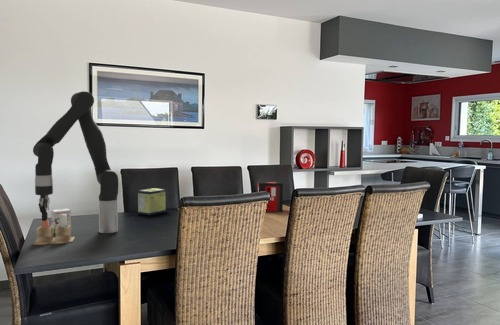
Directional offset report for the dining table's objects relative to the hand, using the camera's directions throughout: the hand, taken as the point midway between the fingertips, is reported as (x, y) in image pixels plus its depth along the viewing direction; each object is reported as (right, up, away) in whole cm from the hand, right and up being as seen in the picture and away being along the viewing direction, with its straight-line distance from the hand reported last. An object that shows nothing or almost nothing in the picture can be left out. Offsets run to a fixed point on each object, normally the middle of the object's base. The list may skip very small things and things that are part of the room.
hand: (44, 220), depth 189 cm
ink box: (-2, -9, +21) cm, 23 cm away
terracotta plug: (0, -9, +1) cm, 8 cm away
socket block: (+4, -11, +2) cm, 11 cm away
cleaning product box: (+113, -6, +84) cm, 141 cm away
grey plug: (+8, -6, +3) cm, 10 cm away
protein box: (+33, -6, +73) cm, 81 cm away
